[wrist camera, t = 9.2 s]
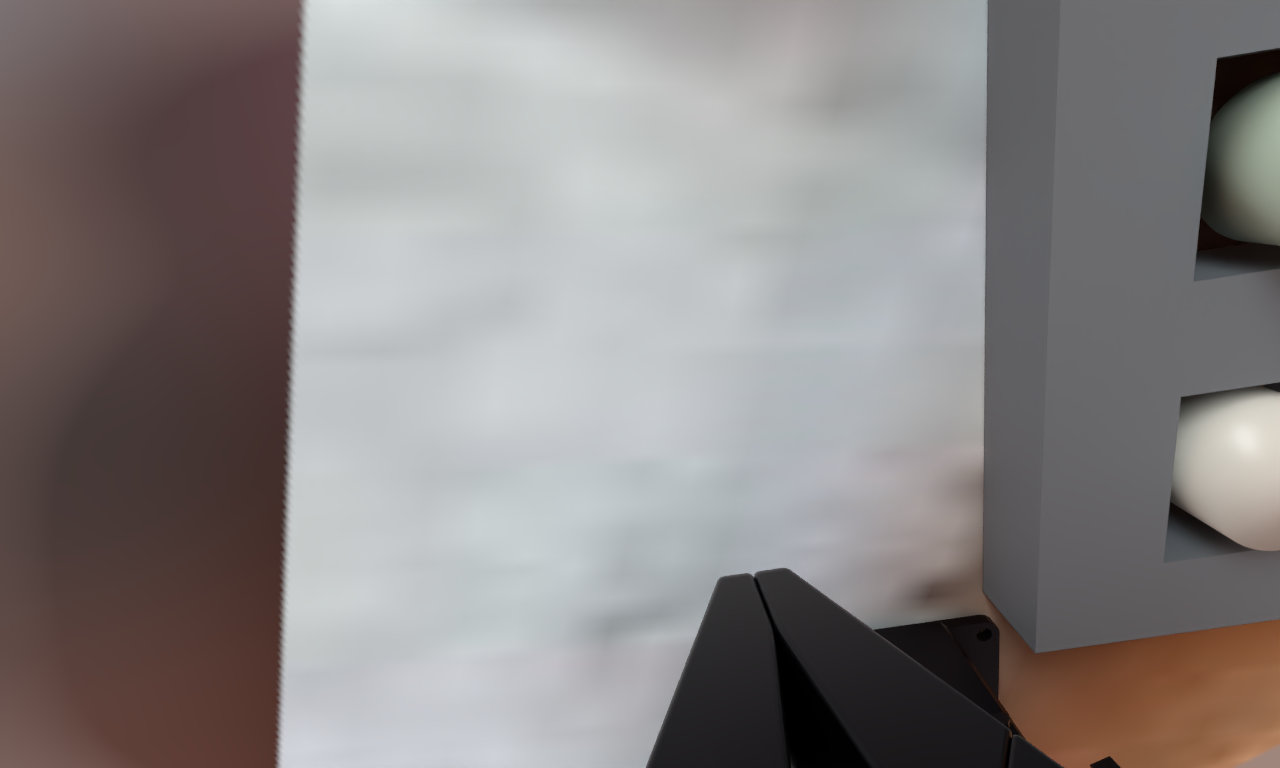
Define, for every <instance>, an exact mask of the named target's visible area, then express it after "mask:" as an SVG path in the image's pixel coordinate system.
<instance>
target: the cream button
mask: <svg viewBox="0 0 1280 768" xmlns="http://www.w3.org/2000/svg"><path fill="white" fill-rule="evenodd" d="M1170 502H1171V503H1173V504H1175V505H1176V506H1178V507H1179V508H1181V509H1183V510H1184V511H1186V512H1188V513H1189V514H1191V515H1192V516H1194V517H1196V518H1197V519H1199V520H1201V521H1202V522H1204V523H1205V524H1207V525H1209V526H1210V527H1212V528H1214V529H1215V530H1217V531H1219V532H1220V533H1222V534H1223V535H1225V536H1227V537H1228V538H1230V539H1232V540H1233V541H1235V542H1236V543H1238V544H1240V545H1242V546H1245V547H1248V548H1251V549H1255V550H1261V551H1278V550H1280V392H1277V391H1274V390H1271V389H1268V388H1265V387H1263V386H1260V385H1258V386H1251V387H1244V388H1238V389H1231V390H1224V391H1218V392H1211V393H1204V394H1198V395H1191V396H1184V397H1181V402H1180V411H1179V421H1178V430H1177V440H1176V449H1175V458H1174V468H1173V477H1172V487H1171V496H1170Z"/></svg>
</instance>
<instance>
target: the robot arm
mask: <svg viewBox="0 0 1280 768" xmlns="http://www.w3.org/2000/svg"><path fill="white" fill-rule="evenodd" d="M982 629H985V630H984V631H983V632H981V633H978V632H979V631H980V630H982ZM998 681H999V629H998V627H997V626H996V625H995V624H994V622H993V621H992V620H991V619H990V618H989V617H987V616H985V615H975V616H968V617H961V618H954V619H946V620H939V621H932V622H925V623H918V624H911V625H904V626H897V627H890V628H883V629H876V630H872V629H871V628H870V627H868V626H867V625H865V624H864V623H863V622H861V621H860V620H859V619H857V618H856V617H854V616H853V615H852V614H850V613H849V612H847V611H846V610H845V609H843V608H842V607H841V606H839V605H838V604H836V603H835V602H834V601H832V600H831V599H830V598H828V597H827V596H825V595H824V594H823V593H821V592H820V591H818V590H817V589H816V588H814V587H813V586H812V585H810V584H809V583H807V582H806V581H805V580H803V579H802V578H801V577H799V576H798V575H796V574H795V573H794V572H792V571H791V570H789V569H787V568H778V569H772V570H765V571H759V572H757V573H755V575H754V577H753V576H752V575H751V574H749V573H745V574H738V575H731V576H724V577H721V578H719V580H718V581H717V584H716V586H715V589H714V591H713V594H712V597H711V599H710V602H709V604H708V607H707V610H706V612H705V615H704V617H703V620H702V623H701V625H700V628H699V630H698V633H697V636H696V638H695V641H694V643H693V646H692V649H691V651H690V654H689V656H688V659H687V662H686V664H685V667H684V669H683V672H682V675H681V677H680V680H679V682H678V685H677V688H676V690H675V693H674V695H673V698H672V701H671V703H670V706H669V708H668V711H667V714H666V716H665V719H664V721H663V724H662V727H661V729H660V732H659V734H658V737H657V740H656V742H655V745H654V747H653V750H652V753H651V755H650V758H649V760H648V763H647V766H646V768H1064V767H1062V766H1061V765H1060V764H1058V763H1057V762H1055V761H1054V760H1052V759H1051V758H1050V757H1048V756H1047V755H1045V754H1044V753H1043V752H1041V751H1040V750H1039V749H1037V748H1036V747H1034V746H1033V745H1032V744H1030V743H1029V742H1027V741H1026V739H1025V738H1024V737H1023V735H1022V734H1021V732H1020V731H1019V729H1018V728H1017V727H1016V725H1015V724H1014V722H1013V721H1012V719H1011V718H1010V717H1009V714H1008V713H1007V711H1006V710H1005V708H1004V707H1003V705H1002V704H1001V703H1000V701H999V700H998ZM1090 766H1091V768H1120V766H1119V765H1118V764H1117V763H1116V762H1115V761H1114V760H1113V759H1112V758H1111V757H1110V756H1109V757H1106V758H1104V759H1102V760H1100V761H1097V762H1095V763H1093V764H1091V765H1090Z"/></svg>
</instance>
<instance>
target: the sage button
mask: <svg viewBox="0 0 1280 768" xmlns="http://www.w3.org/2000/svg"><path fill="white" fill-rule="evenodd" d="M1200 215H1201V217H1202V219H1203V220H1204V221H1205V222H1206V223H1207V225H1208V226H1209V227H1211V228H1212V229H1213V230H1214V231H1216V232H1217V233H1219V234H1221V235H1223V236H1224V237H1227V238H1230V239H1233V240H1238V241H1244V242H1252V243H1260V244H1269V245H1277V246H1280V72H1276V73H1273V74H1270V75H1267V76H1265V77H1262V78H1260V79H1258V80H1256V81H1254V82H1252V83H1251V84H1249V85H1248V86H1246V87H1244V88H1243V89H1241V90H1240V91H1239V92H1238V93H1236V94H1235V95H1234V96H1233V97H1231V98H1230V99H1229V100H1228V101H1227V102H1226V103H1225V104H1224V105H1223V106H1222V108H1221V109H1220V110H1219V111H1218V112H1217V114H1216V115H1215V116H1214V117H1213V119H1212V120H1211V122H1210V129H1209V139H1208V148H1207V157H1206V167H1205V176H1204V186H1203V195H1202V204H1201V214H1200Z"/></svg>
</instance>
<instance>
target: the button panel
mask: <svg viewBox="0 0 1280 768" xmlns="http://www.w3.org/2000/svg"><path fill="white" fill-rule="evenodd" d="M1276 50H1280V0H988V67H987V182H986V297H985V411H984V526H983V592H984V593H985V595H986V596H987V597H988V598H989V599H990V601H991V602H992V603H993V604H994V605H995V606H996V608H997V609H998V610H999V611H1000V612H1001V614H1002V615H1003V616H1004V617H1005V618H1006V619H1007V621H1008V622H1009V623H1010V624H1011V625H1012V627H1013V628H1014V629H1015V630H1016V631H1017V632H1018V634H1019V635H1020V636H1021V637H1022V638H1023V640H1024V641H1025V642H1026V643H1027V644H1028V645H1029V647H1030V648H1031V649H1032V650H1033V651H1034V653H1042V652H1049V651H1056V650H1064V649H1071V648H1078V647H1085V646H1092V645H1099V644H1106V643H1113V642H1121V641H1128V640H1135V639H1142V638H1149V637H1156V636H1163V635H1171V634H1178V633H1185V632H1192V631H1199V630H1206V629H1213V628H1220V627H1228V626H1235V625H1242V624H1249V623H1256V622H1263V621H1270V620H1278V619H1280V550H1278V551H1261V550H1255V549H1251V548H1248V547H1245V546H1242V545H1240V544H1238V543H1236V542H1235V541H1233V540H1232V539H1230V538H1228V537H1227V536H1225V535H1223V534H1222V533H1220V532H1219V531H1217V530H1215V529H1214V528H1212V527H1210V526H1209V525H1207V524H1205V523H1204V522H1202V521H1201V520H1199V519H1197V518H1196V517H1194V516H1192V515H1191V514H1189V513H1188V512H1186V511H1184V510H1183V509H1181V508H1179V507H1178V506H1176V505H1175V504H1173V503H1171V502H1170V496H1171V487H1172V477H1173V468H1174V458H1175V449H1176V440H1177V430H1178V421H1179V411H1180V402H1181V397H1184V396H1191V395H1198V394H1204V393H1211V392H1218V391H1224V390H1231V389H1238V388H1244V387H1251V386H1258V385H1264V386H1263V387H1265V388H1268V389H1271V390H1274V391H1277V392H1280V246H1277V245H1269V244H1260V243H1246V244H1239V245H1233V246H1226V247H1220V248H1213V249H1207V250H1200V251H1197V242H1198V233H1199V223H1200V214H1201V204H1202V195H1203V186H1204V176H1205V167H1206V157H1207V148H1208V139H1209V129H1210V120H1211V110H1212V101H1213V92H1214V82H1215V73H1216V63H1217V60H1220V59H1227V58H1233V57H1239V56H1245V55H1251V54H1257V53H1264V52H1270V51H1276Z"/></svg>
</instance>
